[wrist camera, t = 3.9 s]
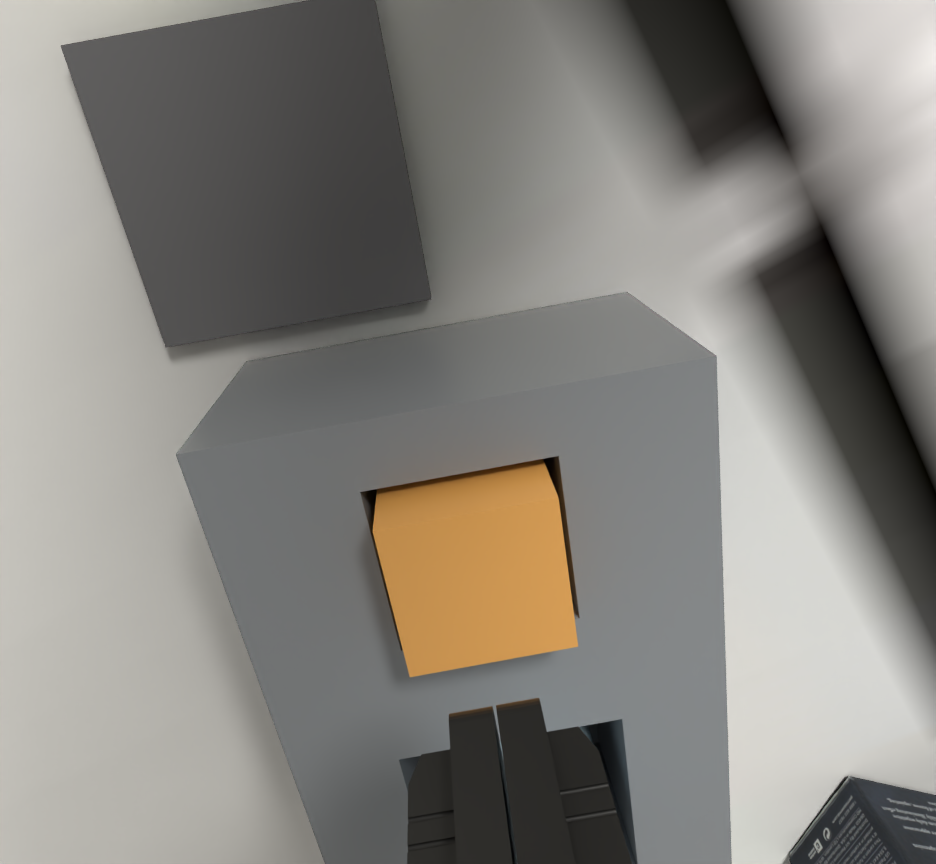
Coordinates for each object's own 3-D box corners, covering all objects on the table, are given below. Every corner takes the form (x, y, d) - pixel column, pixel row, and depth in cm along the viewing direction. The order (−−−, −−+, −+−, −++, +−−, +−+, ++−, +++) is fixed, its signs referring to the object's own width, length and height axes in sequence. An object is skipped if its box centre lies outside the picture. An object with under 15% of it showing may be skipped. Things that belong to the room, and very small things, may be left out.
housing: (246, 361, 22) (175, 454, 15) (627, 291, 22) (716, 355, 15) (372, 777, 29) (360, 961, 22) (661, 724, 29) (732, 893, 22)
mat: (70, 48, 18) (60, 45, 18) (373, -7, 18) (372, -12, 18) (172, 342, 21) (165, 347, 21) (430, 294, 21) (431, 299, 21)
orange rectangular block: (382, 438, 20) (372, 531, 15) (524, 413, 20) (558, 497, 15) (410, 559, 21) (409, 677, 16) (542, 535, 21) (578, 646, 16)
